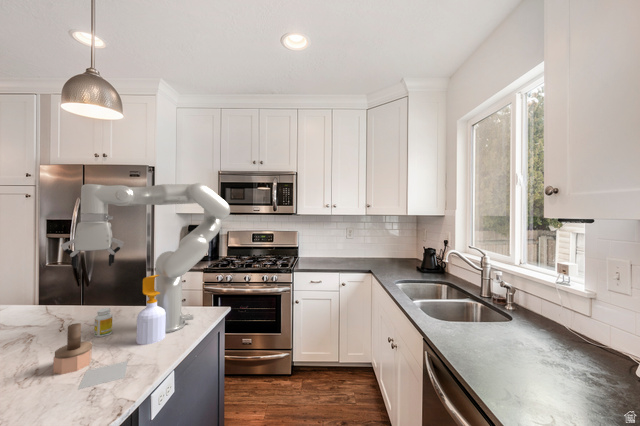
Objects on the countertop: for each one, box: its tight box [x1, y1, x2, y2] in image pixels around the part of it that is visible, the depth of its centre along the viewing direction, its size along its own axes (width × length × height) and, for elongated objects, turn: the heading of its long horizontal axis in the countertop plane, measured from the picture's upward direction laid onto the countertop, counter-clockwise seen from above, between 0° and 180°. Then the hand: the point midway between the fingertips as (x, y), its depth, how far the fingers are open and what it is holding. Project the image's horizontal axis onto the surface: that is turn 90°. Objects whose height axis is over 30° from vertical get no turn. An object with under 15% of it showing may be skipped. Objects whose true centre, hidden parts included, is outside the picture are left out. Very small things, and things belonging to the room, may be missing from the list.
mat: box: [77, 360, 129, 390], centre depth 77 cm, size 10×10×1 cm
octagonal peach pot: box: [52, 347, 93, 375], centre depth 81 cm, size 8×8×5 cm
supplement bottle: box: [93, 307, 113, 338], centre depth 104 cm, size 5×5×10 cm
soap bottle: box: [136, 274, 166, 346], centre depth 99 cm, size 9×9×25 cm
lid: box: [53, 322, 93, 359], centre depth 81 cm, size 8×8×8 cm
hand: (93, 266), depth 95 cm, fingers open, 9 cm apart
